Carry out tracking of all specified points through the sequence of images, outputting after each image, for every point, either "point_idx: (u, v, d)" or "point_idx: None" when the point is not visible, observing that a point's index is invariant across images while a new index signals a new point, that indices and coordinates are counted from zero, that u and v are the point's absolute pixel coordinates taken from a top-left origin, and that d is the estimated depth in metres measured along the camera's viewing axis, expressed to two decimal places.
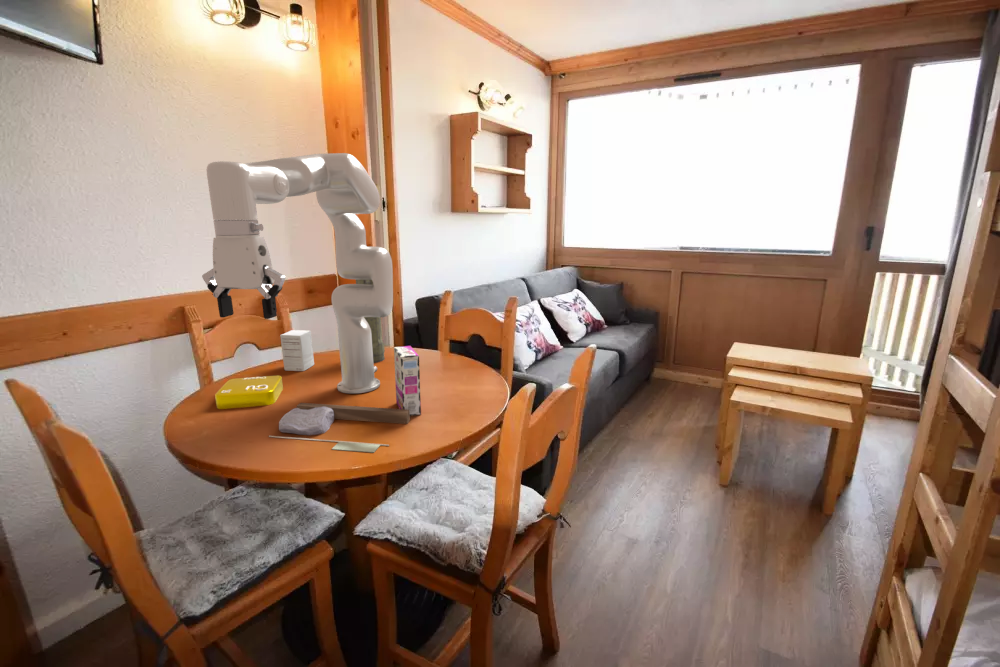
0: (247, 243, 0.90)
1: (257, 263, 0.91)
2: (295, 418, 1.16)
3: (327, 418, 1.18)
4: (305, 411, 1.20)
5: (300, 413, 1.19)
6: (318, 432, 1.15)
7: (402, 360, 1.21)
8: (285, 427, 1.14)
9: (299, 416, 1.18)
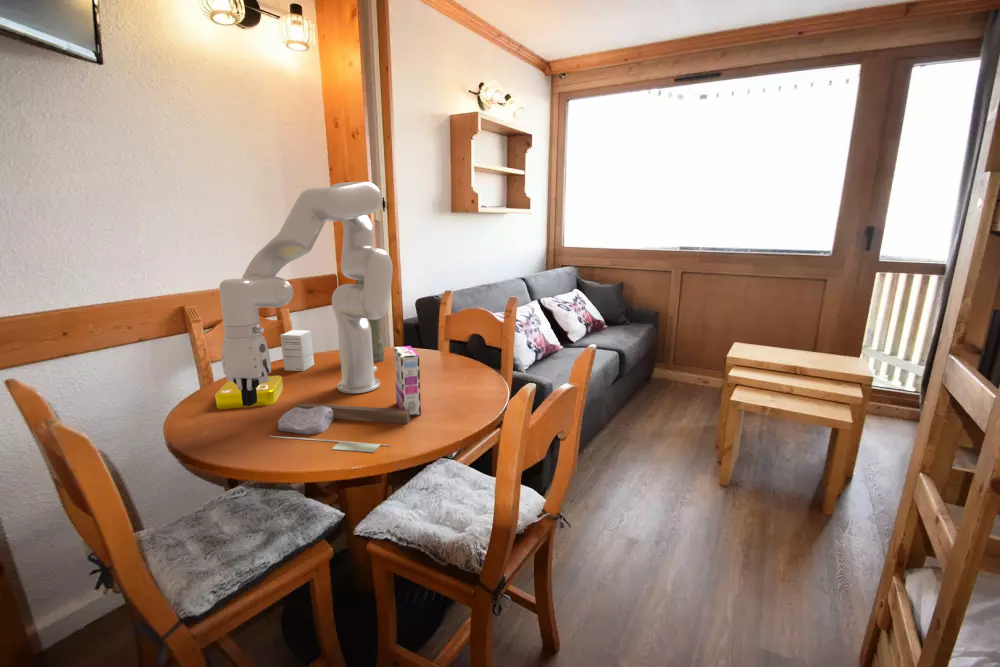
0: (250, 343, 1.11)
1: (258, 359, 1.12)
2: (294, 417, 1.17)
3: (326, 418, 1.19)
4: (305, 410, 1.21)
5: (299, 412, 1.20)
6: (316, 432, 1.15)
7: (402, 360, 1.21)
8: (284, 426, 1.14)
9: (299, 415, 1.18)
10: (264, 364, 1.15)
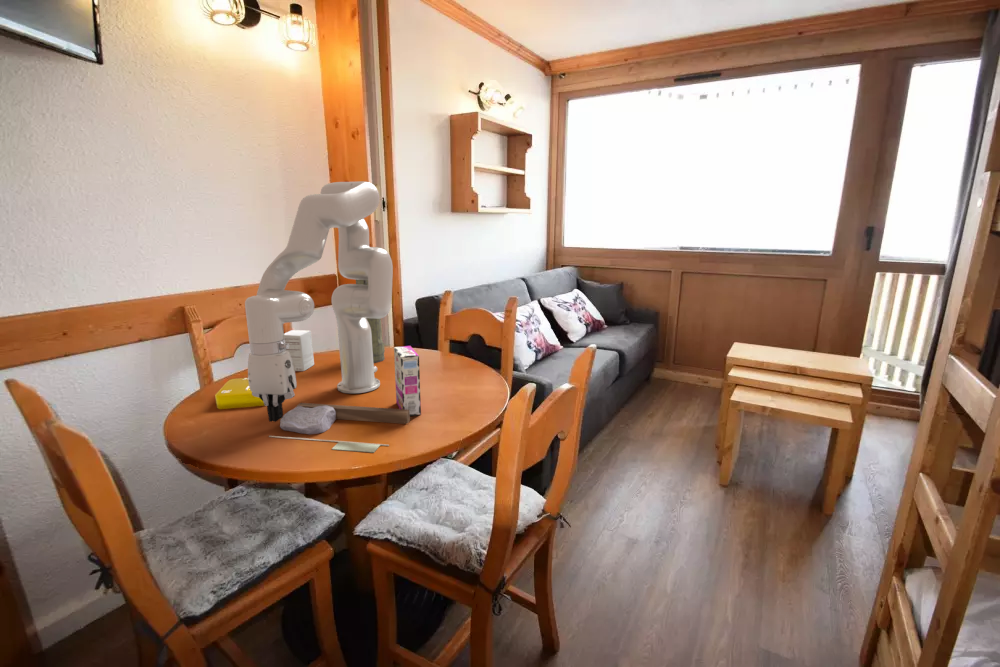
0: (276, 360, 1.11)
1: (284, 375, 1.12)
2: (296, 416, 1.17)
3: (328, 417, 1.18)
4: (307, 409, 1.21)
5: (302, 411, 1.20)
6: (317, 431, 1.15)
7: (402, 360, 1.21)
8: (285, 425, 1.15)
9: (301, 414, 1.18)
10: (290, 380, 1.15)
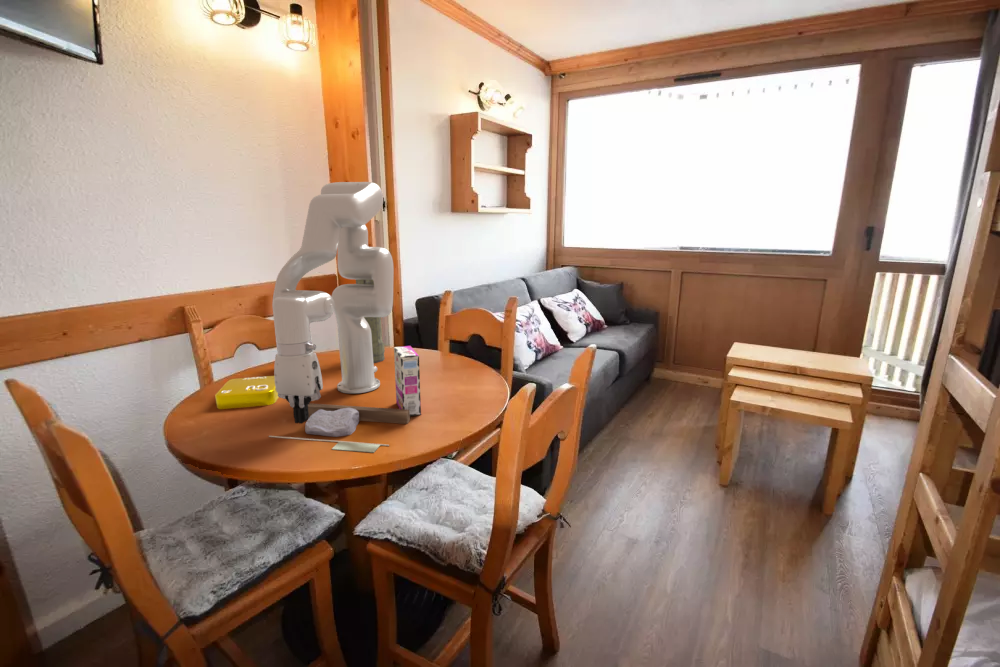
0: (303, 361, 1.10)
1: (311, 376, 1.11)
2: (321, 420, 1.15)
3: (353, 420, 1.18)
4: (330, 412, 1.19)
5: (325, 415, 1.18)
6: (345, 434, 1.14)
7: (402, 360, 1.21)
8: (312, 429, 1.13)
9: (325, 417, 1.17)
10: (316, 381, 1.14)
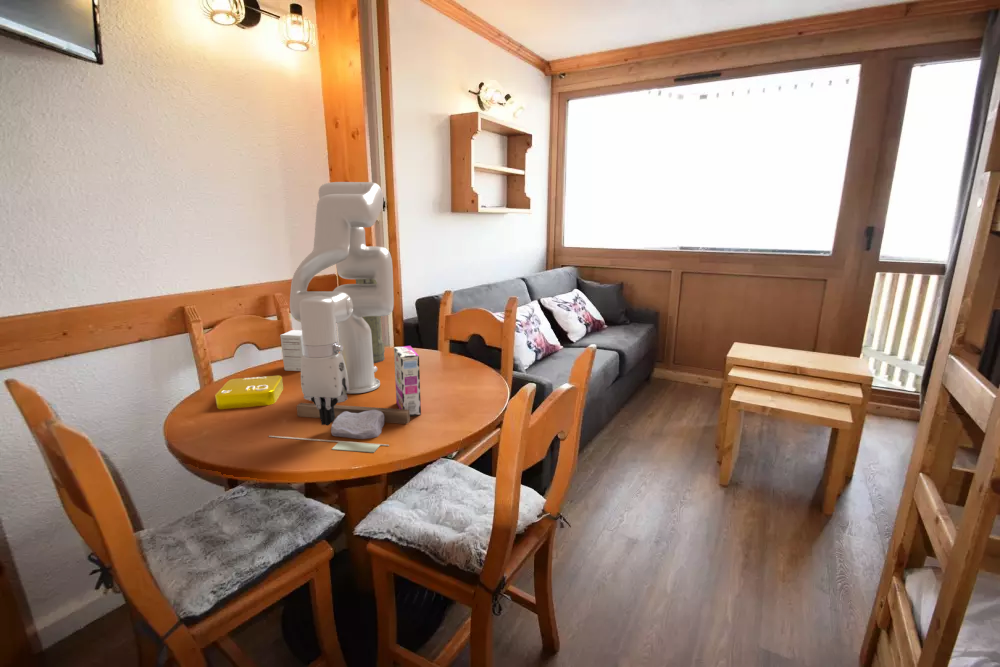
0: (330, 362, 1.09)
1: (338, 378, 1.10)
2: (347, 422, 1.14)
3: (379, 422, 1.16)
4: (356, 414, 1.18)
5: (351, 417, 1.17)
6: (372, 436, 1.13)
7: (402, 360, 1.21)
8: (338, 431, 1.12)
9: (351, 419, 1.16)
10: (343, 382, 1.13)
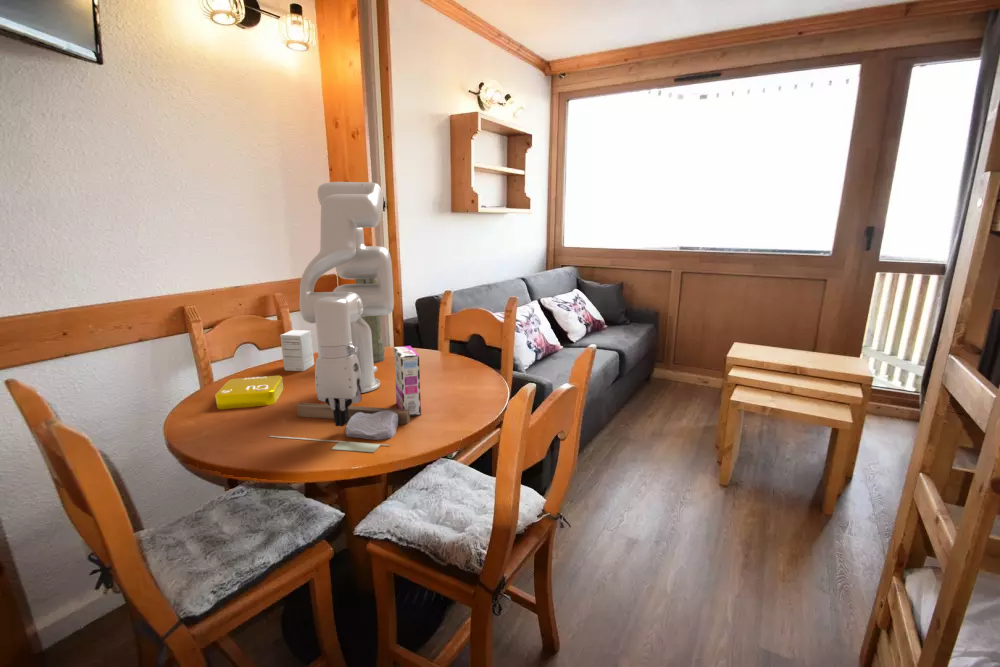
0: (345, 363, 1.09)
1: (353, 379, 1.10)
2: (362, 423, 1.14)
3: (393, 422, 1.16)
4: (370, 415, 1.18)
5: (365, 417, 1.17)
6: (386, 437, 1.12)
7: (402, 360, 1.21)
8: (353, 432, 1.11)
9: (365, 420, 1.15)
10: (357, 383, 1.12)
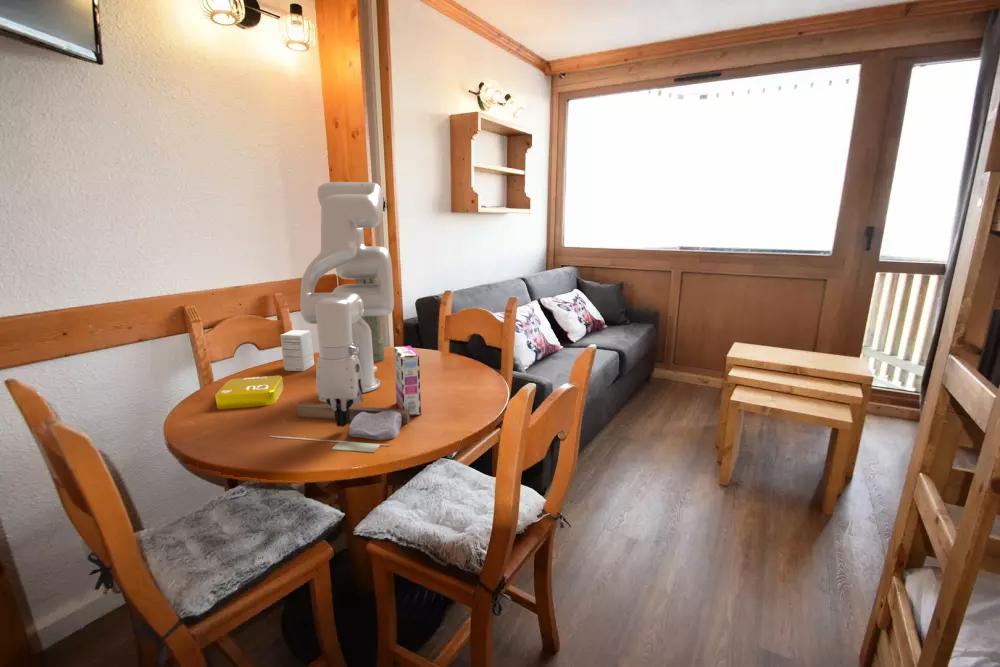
0: (347, 364, 1.09)
1: (354, 380, 1.10)
2: (365, 422, 1.14)
3: (396, 422, 1.16)
4: (373, 415, 1.18)
5: (368, 417, 1.17)
6: (389, 437, 1.12)
7: (402, 360, 1.21)
8: (356, 432, 1.11)
9: (369, 420, 1.15)
10: (358, 384, 1.13)
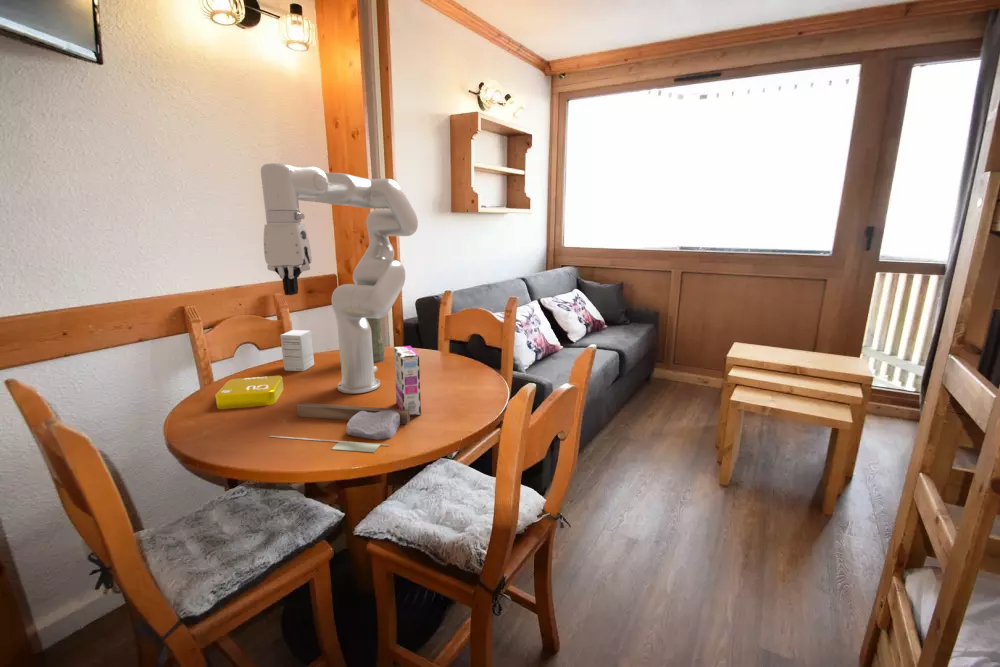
0: (292, 228, 1.12)
1: (300, 245, 1.13)
2: (362, 421, 1.14)
3: (394, 422, 1.16)
4: (372, 414, 1.18)
5: (367, 416, 1.17)
6: (385, 437, 1.12)
7: (402, 360, 1.21)
8: (353, 430, 1.12)
9: (366, 419, 1.16)
10: (305, 252, 1.16)
